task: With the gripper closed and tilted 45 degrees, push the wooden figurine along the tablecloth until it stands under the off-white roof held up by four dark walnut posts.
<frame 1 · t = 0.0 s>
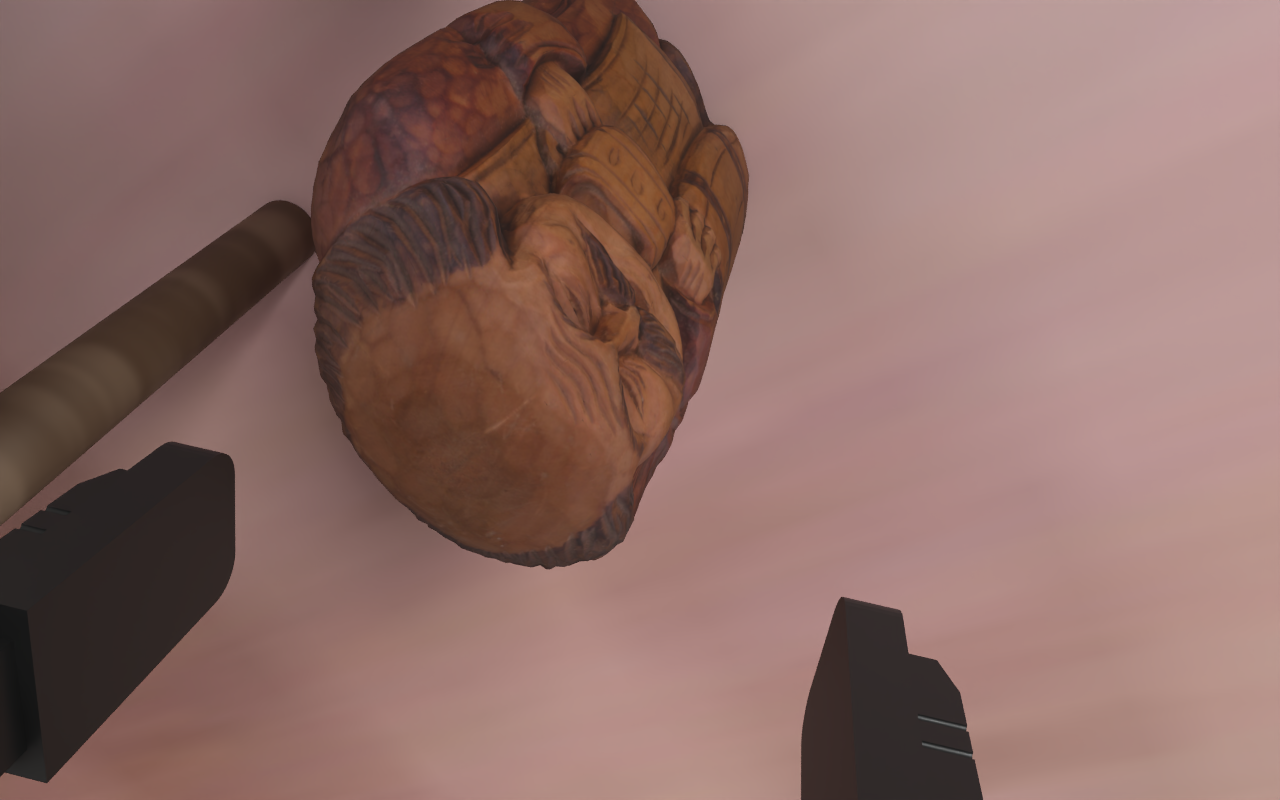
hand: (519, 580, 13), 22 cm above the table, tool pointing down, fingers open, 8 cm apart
wooden figurine: (633, 142, 33), on the table
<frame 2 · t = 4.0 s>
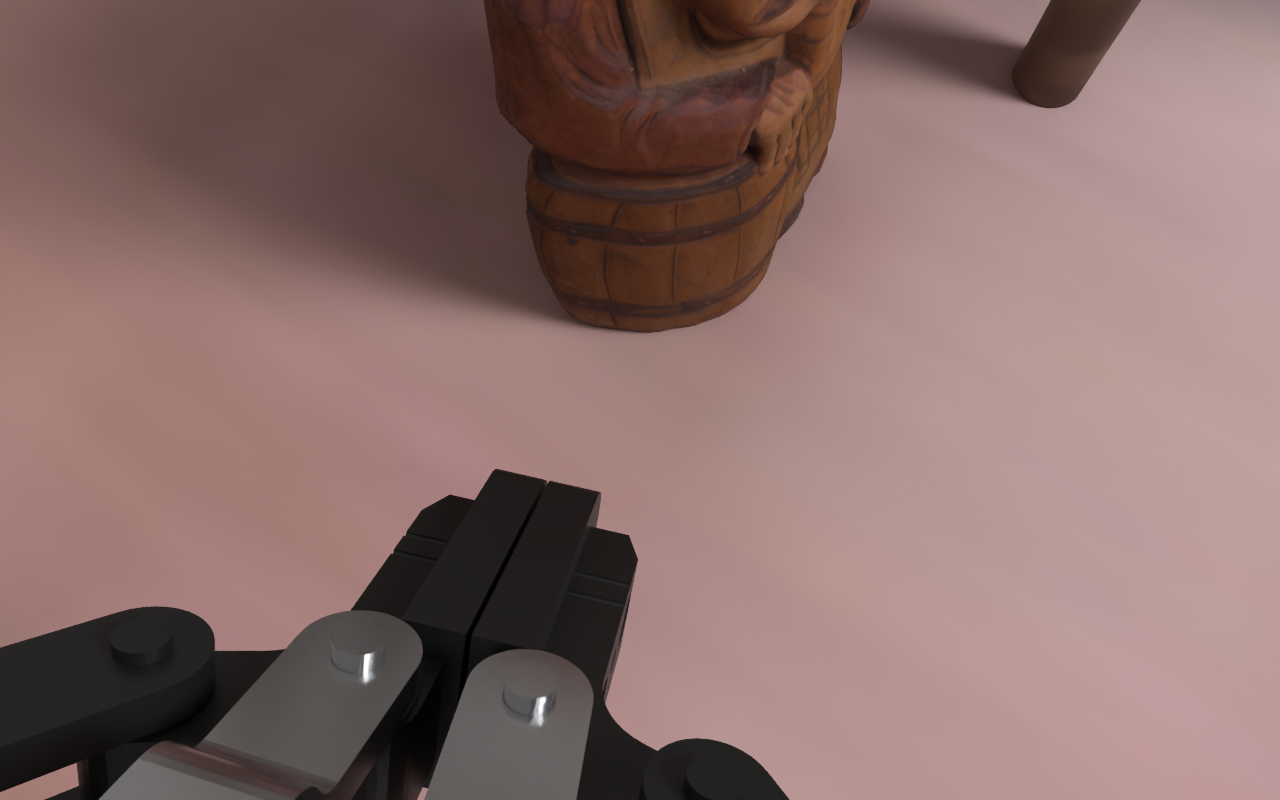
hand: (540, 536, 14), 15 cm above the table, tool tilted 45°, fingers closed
wooden figurine: (696, 214, 33), on the table
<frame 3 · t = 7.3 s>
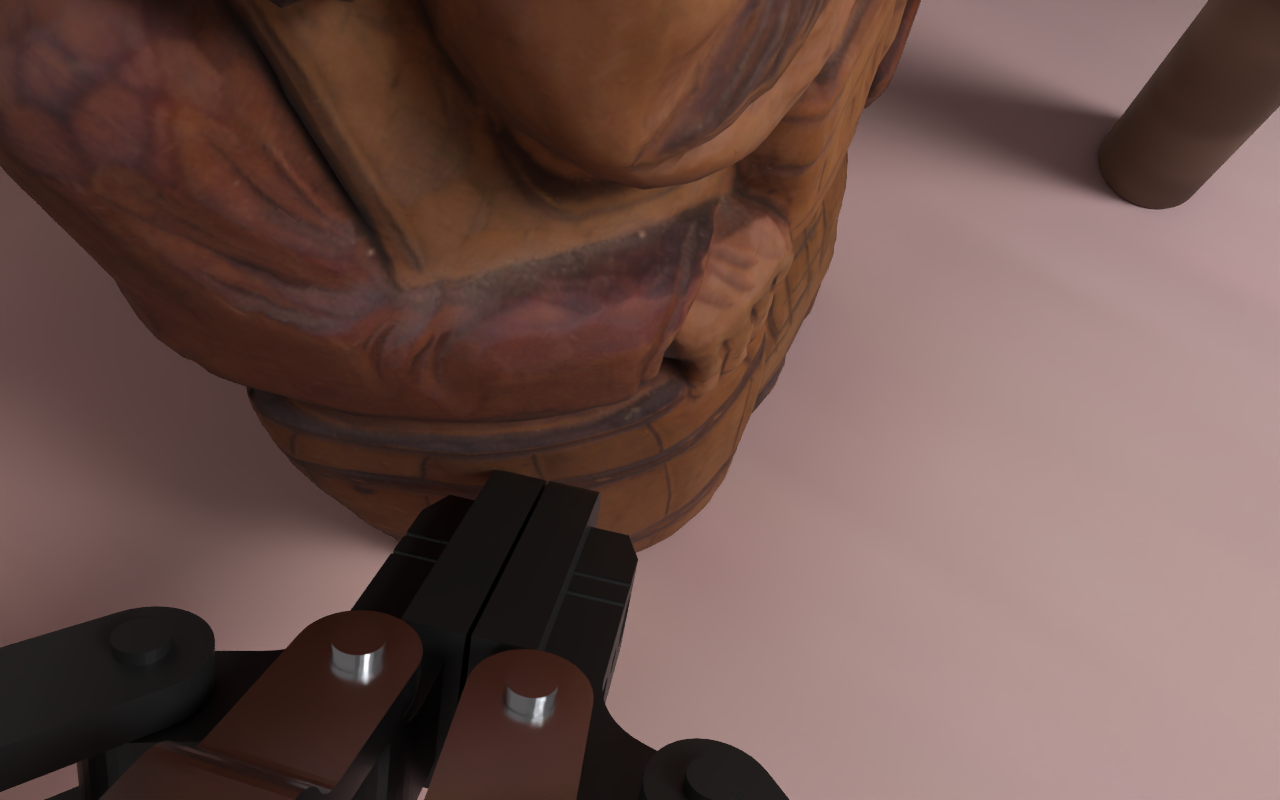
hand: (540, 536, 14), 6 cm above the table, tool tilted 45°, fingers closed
wooden figurine: (621, 372, 22), on the table, touching gripper
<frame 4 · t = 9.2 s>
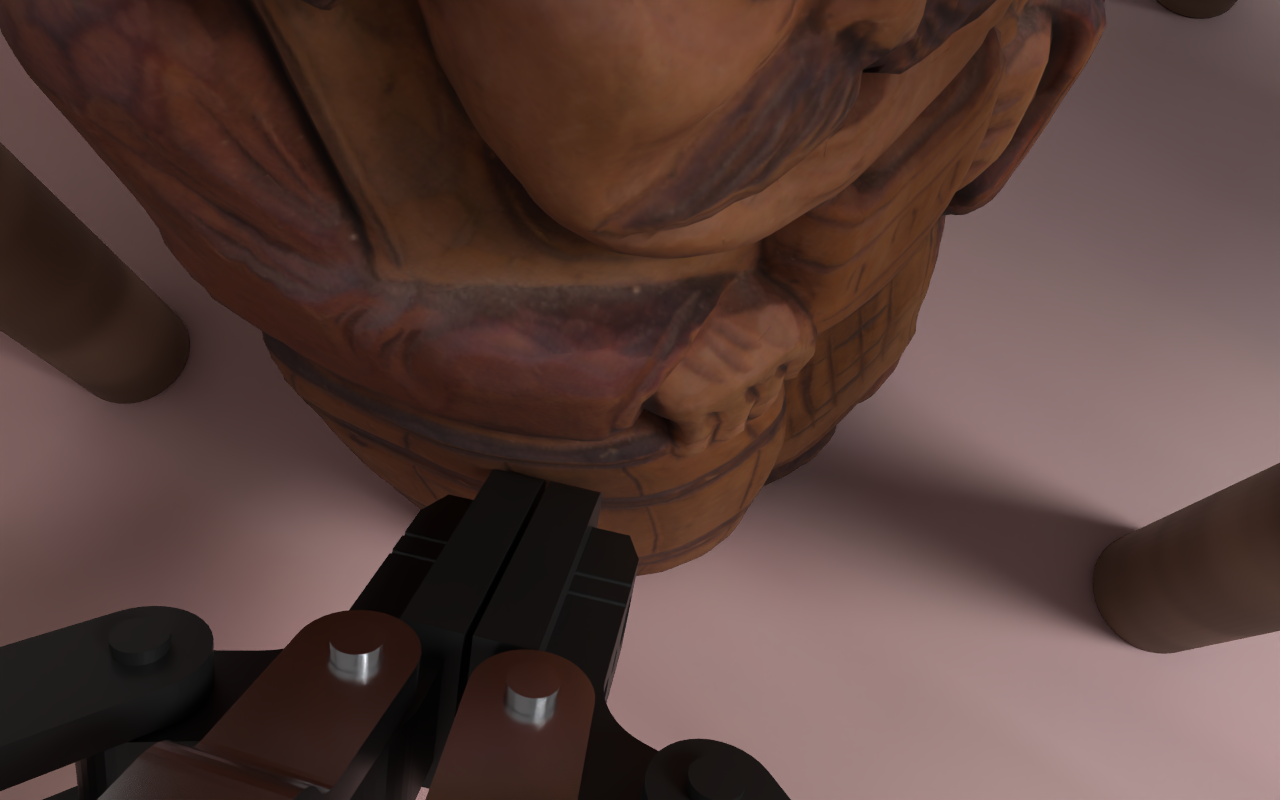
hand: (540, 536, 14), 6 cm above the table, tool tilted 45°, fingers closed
wooden figurine: (671, 397, 21), on the table, touching gripper
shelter: (703, 151, 23), on the table
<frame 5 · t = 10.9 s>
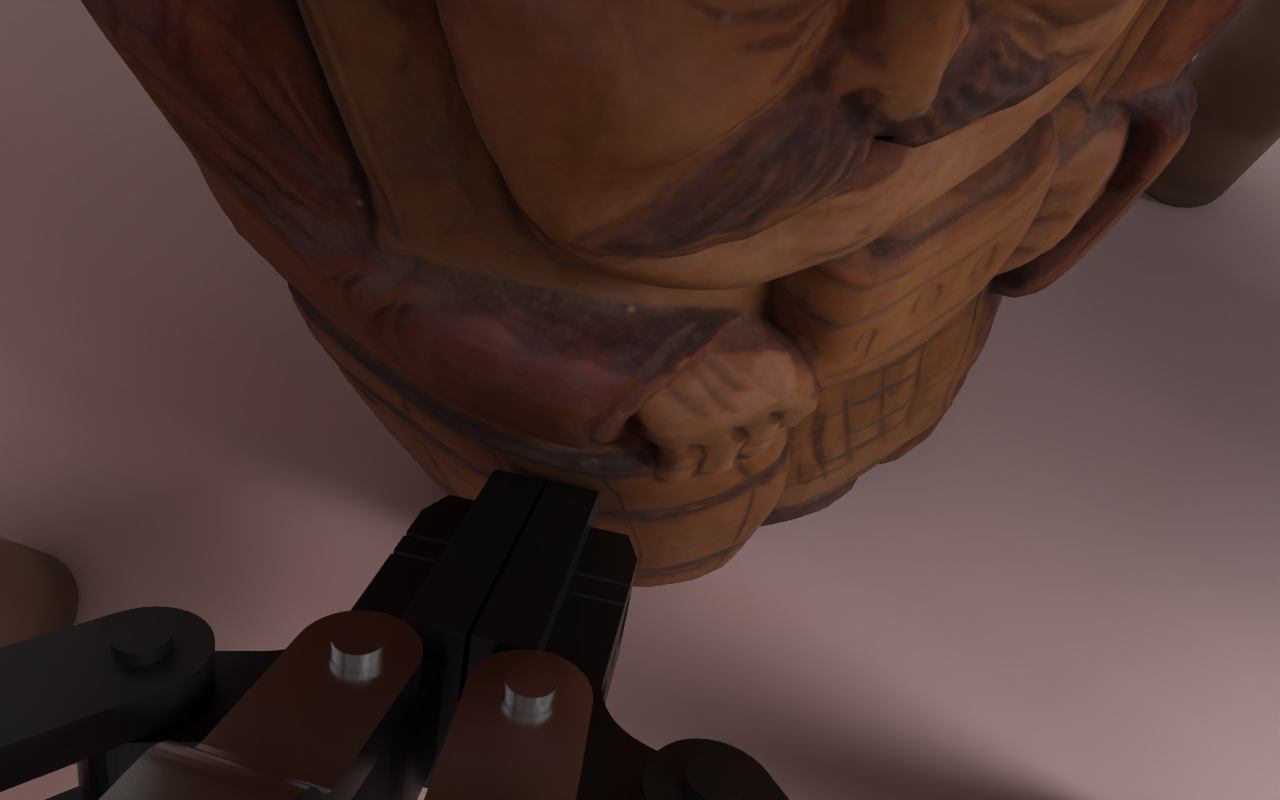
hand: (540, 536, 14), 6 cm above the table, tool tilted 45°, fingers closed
wooden figurine: (699, 417, 21), on the table, touching gripper
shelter: (647, 367, 21), on the table
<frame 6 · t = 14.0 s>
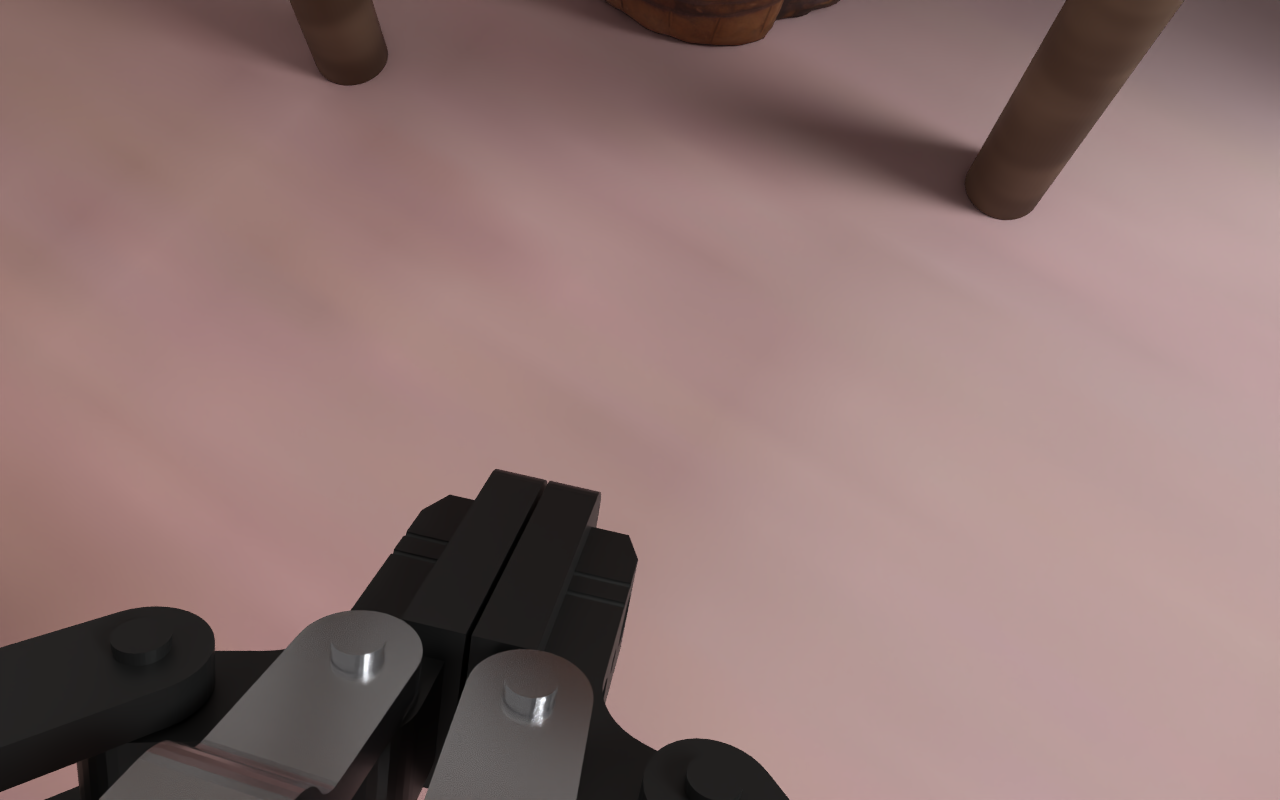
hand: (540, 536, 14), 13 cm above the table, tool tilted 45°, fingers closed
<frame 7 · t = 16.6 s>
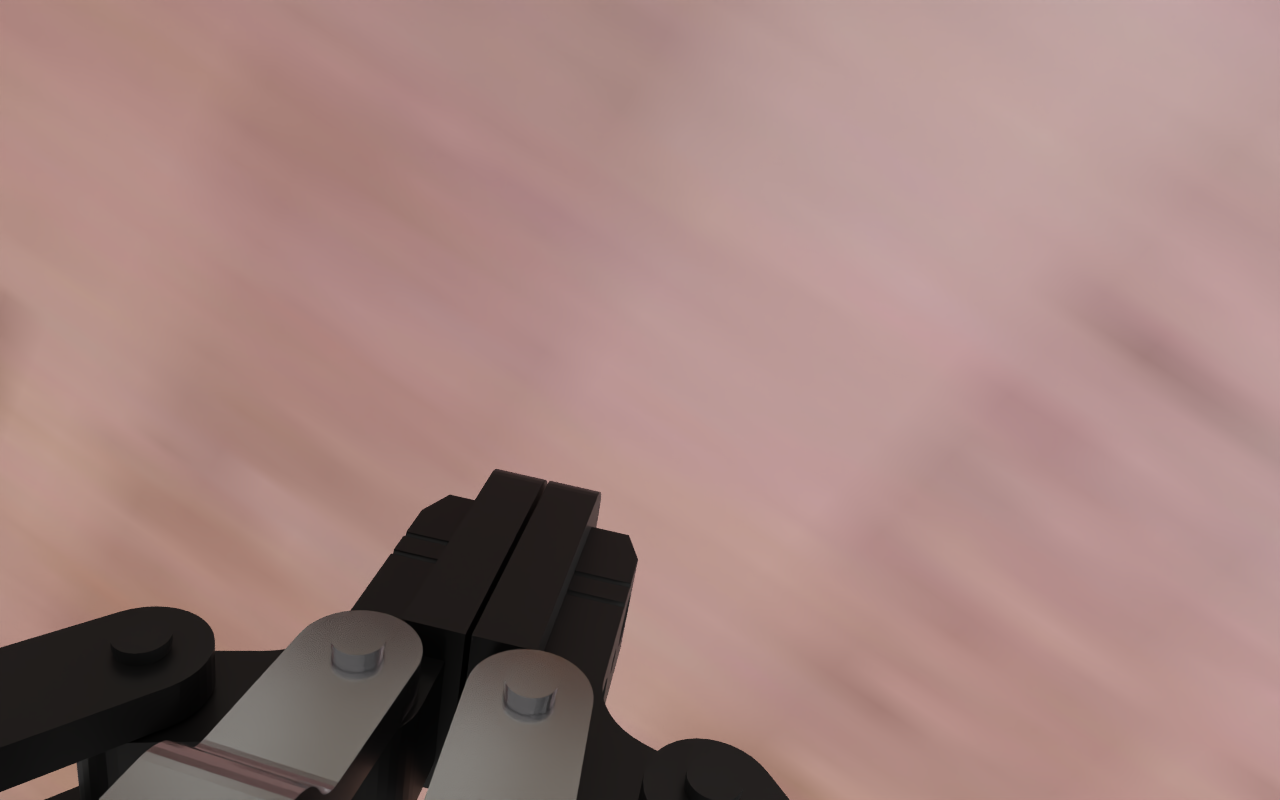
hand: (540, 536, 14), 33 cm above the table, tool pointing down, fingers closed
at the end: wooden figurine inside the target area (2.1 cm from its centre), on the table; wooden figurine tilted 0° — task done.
